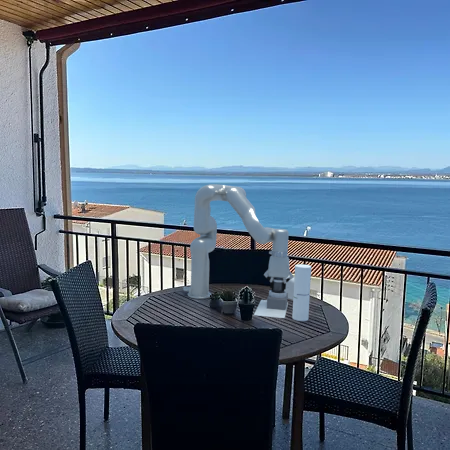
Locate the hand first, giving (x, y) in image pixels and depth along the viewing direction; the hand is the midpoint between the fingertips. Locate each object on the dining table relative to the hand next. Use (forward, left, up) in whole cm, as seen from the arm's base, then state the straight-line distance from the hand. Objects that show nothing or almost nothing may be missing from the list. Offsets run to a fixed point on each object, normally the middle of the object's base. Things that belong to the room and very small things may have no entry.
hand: (277, 289), depth 210 cm
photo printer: (+5, +16, -9) cm, 19 cm away
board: (-2, -6, -9) cm, 11 cm away
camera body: (0, 0, -8) cm, 8 cm away
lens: (0, 0, -2) cm, 2 cm away
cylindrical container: (+12, -17, -9) cm, 23 cm away
